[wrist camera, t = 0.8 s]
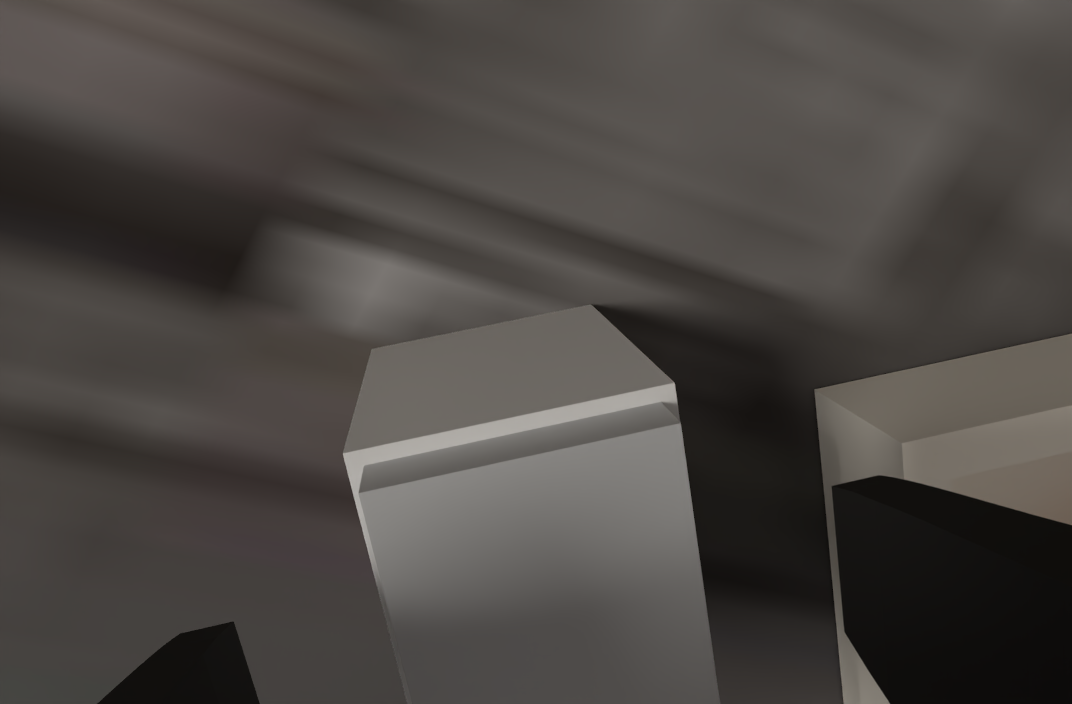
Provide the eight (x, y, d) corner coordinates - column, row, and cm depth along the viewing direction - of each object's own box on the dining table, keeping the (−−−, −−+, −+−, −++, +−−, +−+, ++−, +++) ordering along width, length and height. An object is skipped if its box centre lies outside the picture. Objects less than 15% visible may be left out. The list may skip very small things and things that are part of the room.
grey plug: (630, 549, 16) (744, 772, 10) (430, 594, 16) (432, 851, 10) (590, 304, 15) (696, 402, 9) (371, 348, 14) (335, 480, 9)
